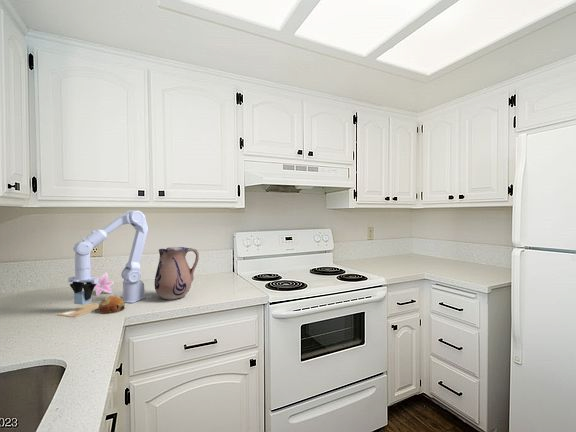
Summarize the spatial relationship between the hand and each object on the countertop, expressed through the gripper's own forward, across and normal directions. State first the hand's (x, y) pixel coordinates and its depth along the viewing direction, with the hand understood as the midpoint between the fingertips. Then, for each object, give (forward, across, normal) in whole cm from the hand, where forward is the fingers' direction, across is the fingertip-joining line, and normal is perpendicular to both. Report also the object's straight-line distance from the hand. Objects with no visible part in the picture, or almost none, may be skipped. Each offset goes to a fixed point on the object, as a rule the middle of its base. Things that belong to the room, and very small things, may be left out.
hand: (83, 298), depth 133 cm
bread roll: (+5, +12, +3) cm, 14 cm away
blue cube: (+2, 0, 0) cm, 2 cm away
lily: (+5, -15, +23) cm, 28 cm away
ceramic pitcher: (+5, +28, +28) cm, 40 cm away
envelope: (+5, 0, 0) cm, 5 cm away
